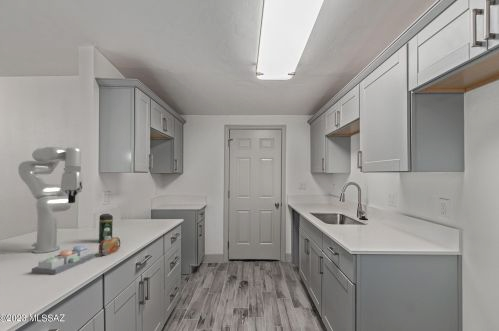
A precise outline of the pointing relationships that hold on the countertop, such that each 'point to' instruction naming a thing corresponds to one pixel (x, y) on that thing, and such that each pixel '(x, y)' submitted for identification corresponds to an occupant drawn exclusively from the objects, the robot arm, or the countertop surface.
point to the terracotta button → (66, 253)
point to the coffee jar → (105, 227)
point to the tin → (109, 246)
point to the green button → (51, 259)
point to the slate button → (78, 248)
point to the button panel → (63, 262)
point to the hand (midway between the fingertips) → (71, 202)
